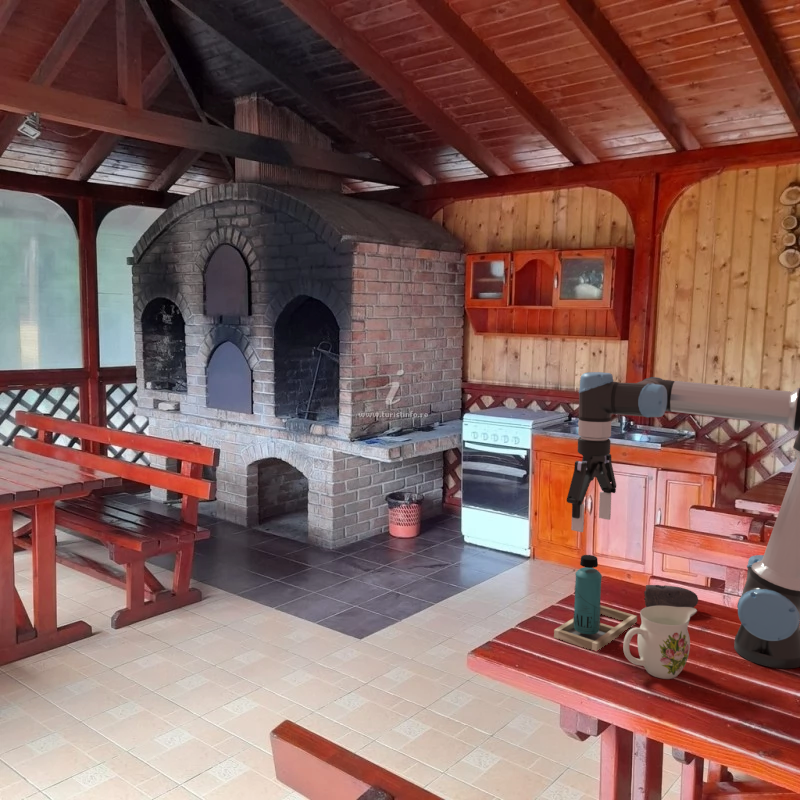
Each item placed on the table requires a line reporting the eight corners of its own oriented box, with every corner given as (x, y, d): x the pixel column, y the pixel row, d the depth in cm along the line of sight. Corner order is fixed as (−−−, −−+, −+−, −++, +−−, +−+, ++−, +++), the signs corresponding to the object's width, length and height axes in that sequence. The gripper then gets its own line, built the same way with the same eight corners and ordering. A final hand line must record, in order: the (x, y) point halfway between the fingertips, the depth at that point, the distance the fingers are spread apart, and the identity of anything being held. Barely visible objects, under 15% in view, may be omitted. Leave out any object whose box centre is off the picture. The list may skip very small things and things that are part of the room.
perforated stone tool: (694, 607, 203) (695, 582, 202) (701, 615, 197) (703, 589, 196) (638, 606, 203) (639, 582, 202) (644, 614, 198) (645, 589, 197)
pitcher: (608, 666, 169) (611, 608, 168) (676, 655, 174) (680, 599, 173) (637, 690, 159) (640, 628, 157) (708, 678, 164) (712, 618, 162)
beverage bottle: (597, 629, 187) (600, 552, 184) (602, 641, 180) (605, 561, 178) (571, 628, 187) (573, 551, 185) (574, 640, 181) (577, 560, 178)
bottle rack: (596, 611, 199) (596, 603, 199) (636, 623, 192) (637, 615, 192) (553, 637, 184) (554, 629, 183) (596, 652, 176) (596, 644, 176)
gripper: (604, 429, 189) (601, 511, 192) (552, 442, 171) (550, 533, 173) (632, 432, 184) (629, 516, 187) (582, 447, 166) (579, 539, 168)
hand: (591, 524), depth 180 cm, fingers open, 13 cm apart
